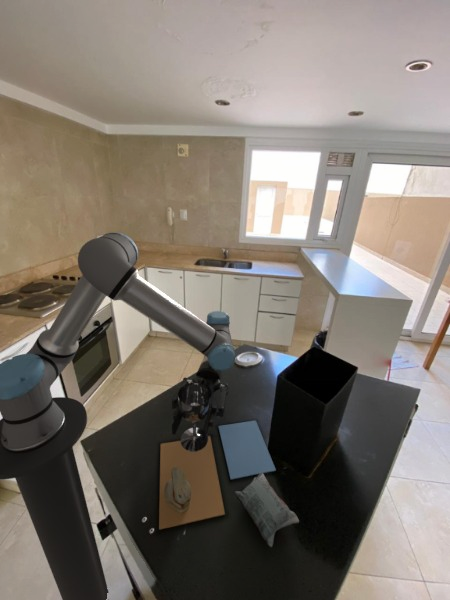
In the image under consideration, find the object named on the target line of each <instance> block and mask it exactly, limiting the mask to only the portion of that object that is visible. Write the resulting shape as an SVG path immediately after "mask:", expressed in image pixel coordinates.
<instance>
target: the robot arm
mask: <svg viewBox="0 0 450 600" xmlns="http://www.w3.org/2000/svg"><path fill="white" fill-rule="evenodd" d="M138 258H139V249H138V246H137V244H136V243H135V241H134V240H133V239H132V238H131V237H129V236H128V235H126V234H125V233H121V232H107V233H105V234H103V235H101V236H99V237H96V238H92V239H90V240H88V241H87V242H85V243H84V244H83V245H82V246H81V248H80V249H79V251H78V255H77V265H78V268H79V271H80V273H81V276H80V277H79V280H78V281H77V283H76V284H75V286H74V288H73V289H72V291H71V293H70V294H69V296H68V298H67V299H66V301H65V303H64V304H63V306H62V308H61V309H60V311H59V313H58V315H57V316H56V318H55V319H54V320H53V322H52V324H51V326H50V328H49V329H48V328H47V329H45V330H42V332H40V334H39V335H38V337H37V338H36V339H35V342H34V343H33V345H32V346H31V348H30V349H29V350H28V351H27V352H25V353H22V354H17V355H14V356H12V357H11V358H10V359H9V358H7V359H5V360H4V361H2V362H1V363H0V415H1V417H2V418H3V420H4V422H3V429H2V432H1V433H2V436H1V441H2V444H3V447H4V449H5V450H7V451H8V452H11V453H24V452H29V451H32V450H35V449H37V448H39V447H41V446H43V445H45V444H47V443H48V442H50V441H51V440H52V439H54V438H55V437H56V436H57V435H58V434H59V433H60V431H61V430H62V428H63V427H64V424H65V416H64V413H63V411H62V410H61V409H60V408H59V407H58V406H57V404H56V403H55V402H54V401H53V399H52V398H53V395H52V391H51V388H52V385H53V384H54V383H55V381H56V380H57V379H58V377H59V376H60V375H61V374H62V373H63V371H64V370H65V369H66V367H67V366H68V365H69V364H70V363H71V362H72V361H73V359H74V358H75V355H76V353H77V351H78V349H79V346H80V344H79V341H78V340H79V339H80V338H81V336H82V334H83V333H84V331H85V329H87V327H88V325H89V323H90V322H91V320H92V318H93V317H94V316H95V314H96V312H97V311H98V309H99V308H100V306H101V305H102V303H103V302H104V300H105V299H106V297H108V298H109V299H110V300H112V301H115V302H116V301H122V302H123V303H125V304H126V305H127V306H130V307H131V308H132V309H133V310H135V311H137V312H138V313H140V314H141V315H143V316H144V317H146V318H147V319H148V320H151V322H154V323H155V324H157V325H158V326H160V327H161V328H163V329H164V330H166V331H167V332H168V333H170V334H172V336H173V335H174V336H175V337H177V338H178V339H180V340H181V341H182V342H184V343H186V344H187V345H189V346H190V347H192V348H193V349H195V350H196V351H198V352H199V353H200V354H202V355H203V358H202V360H201V362H200V365H199V367H198V369H197V372H196V374H195V376H194V377H193V378H192V379H188V377H185V376H184V377H183V378H182V383H181V385H180V386H179V388H178V389H177V390H176V392H175V394H174V396H173V397H172V399H171V408H172V409H173V410H174V411H173V412H172V413H173V414H172V419H173V422H172V424H171V433H172V434H171V435H176V434H177V431H178V430H179V427H180V424H181V422H182V420H183V417H182V415H181V412H180V409H179V405H178V392H179V390H180V389H181V387H183V386H184V385H186V384H188V383H193V382H199V383H203V384H205V385H207V386H208V387H209V388H210V390H211V405H210V409H209V412H208V414H207V416H206V417H205V420H204V424H203V427H202V440H205V439H206V436H207V435H208V432H209V429H210V428H213V427H214V426H215V423H216V418H217V417H219V418H223V417H224V416H225V409H226V408H225V406H226V397H227V395H228V393H229V387H230V385H229V384H228V383H225V384H221V380H222V376H223V372H224V371H227V370H229V369H230V368H231V367H233V365H234V363H235V361H236V353H235V352H236V351H235V347H234V344H233V340H232V335H231V331H230V324H231V321H230V315H229V314H228V313H227V312H225V311H222V310H214V311H210V312H209V313H208V314H207V316H206V322H204V321H203V320H201V319H200V318H199V317H198V316H196V315H195V314H193V312H191V311H190V310H188V309H186V308H185V307H184V306H182V305H181V304H180V303H178V302H177V301H176V300H174V299H173V298H171V297H170V296H168V295H167V294H165V293H164V292H163V291H162V290H160V289H159V288H157V287H156V286H155V285H153V284H152V283H150V282H148V280H146V279H145V278H143V277H141V276H140V274H139V270H138V269H137V268H136V267H135V266H136V265H137V262H138ZM217 391H219V392H220V401H219V407H218V406H217V401H216V397H215V392H217Z"/></svg>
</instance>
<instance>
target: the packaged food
mask: <svg viewBox="0 0 450 600" xmlns="http://www.w3.org/2000/svg"><path fill="white" fill-rule="evenodd" d="M234 494H235V496H236V498H237V499H238V501H239V503H240V504H241V505H242V507H243V508H244V510H245V511H246V512H247V514H248V516H249V517H250V518H251V520H252V522H253V524H254V525H255V526H256V528H257V530H258V532H259V534H260V535H261V537H262V538H263V540H264V542H265V543H266V544H267V545H268V546H269V547H270V548H273V545H274V541H275V540H274V539H275V534H276V532H277V531H279V530H280V529H283V528H285V527H288V526H291V525H293V524H298V523H299V522H300V520H299V518H298V516H297V514H296V513H295V512H294V511H293V510H290V508H289V506H288V505H287V504H286V502H284V500H283V499H281V498H280V497H279V496H278V494H277V493H276V492H275V490H274V488H273V487H272V486H271V485H270V483H269V481H268V479H267V478H266V476H265V473H263V471H261V473H260V474H257V476H255V477H254V478H253V479H252V481H251V483H250V484H248V485H247V486H246V487H245V488H244V489H243V490H242V491H238V490H237V491H236V490H235V491H234Z"/></svg>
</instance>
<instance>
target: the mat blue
mask: <svg viewBox="0 0 450 600" xmlns="http://www.w3.org/2000/svg"><path fill="white" fill-rule="evenodd" d="M217 426H218V431H219V435H220V439H221V444H222V449H223V454H224V458H225V461H226V466H227V471H228V475H229V478H230V480H236V479H241V478H248V477H252V476H256V475H257V476H258V475H259V474H260V473H261V471H263V474H268V473H273V472H276V471H277V468H276V467H275V464H274V461H273V460H272V457H271V454H270V451H269V449H268V447H267V445H266V442H265V440H264V439H265V438H264V437H263V434H262V432H261V430H260V427H259V424H258V422H257V420H249V421H244V422H237V423H230V424H223V425H217Z"/></svg>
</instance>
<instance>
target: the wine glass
mask: <svg viewBox="0 0 450 600" xmlns="http://www.w3.org/2000/svg"><path fill="white" fill-rule="evenodd" d="M178 405H179V409H180V412H181V415H182V419H184V420H185V421H187V422H189V423H191V426H192V427H190V428H188V429H186V430H185V431H184V432H183V433H182V434H181V437H180V441H181V445H182V447H183V448H184V449H186V450H187V451H190V452H196V451H200V450H202V449H203V448H204V447H205V446H206V445H207V442H208V436H209V435H208V434H207V436H206V439H205V440H202V430H203V428H200V427H198V423H200V422H202V421H203V420H204V419H206V417H207V414H208V412H209V410H211V408H210V405H211V390H210V388H209V387H208V386H207V385H205V384H203V383H199V382H193V383H188V384H186V385H184V386H183V387H181V389H180V390H179V392H178Z"/></svg>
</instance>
